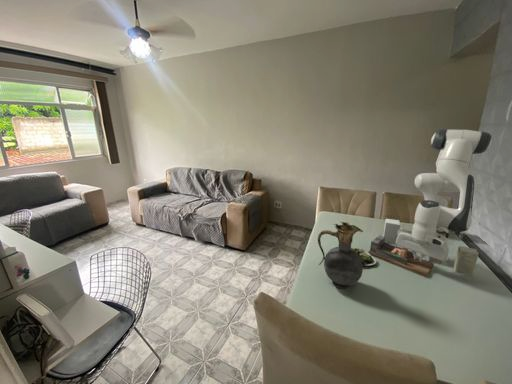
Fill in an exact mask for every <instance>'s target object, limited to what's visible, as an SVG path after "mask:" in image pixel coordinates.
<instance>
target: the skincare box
mask: <svg viewBox="0 0 512 384" xmlns="http://www.w3.org/2000/svg"><path fill="white" fill-rule="evenodd" d="M478 258H479V252H478V250H477V248H471V247H466V246H461V245H458V249H457V252H456V256H455V260H454V264H453V271H454V273H456V274H460V275H464V276H468V277H473V276H474V272H475V269H476V265H477V262H478Z"/></svg>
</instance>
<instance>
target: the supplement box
mask: <svg viewBox="0 0 512 384" xmlns="http://www.w3.org/2000/svg"><path fill="white" fill-rule="evenodd" d="M384 221H385V222H384V227H383V232H382V233H383V234H382V236H384V237H385V242H386V243H389V244H392V245H396V239H397V237H398V235H397V232H398V230H399V229H401V228H400V227H401V222H400V220H399V219H393V218H392V219H391V218H385V220H384Z"/></svg>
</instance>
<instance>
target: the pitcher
mask: <svg viewBox="0 0 512 384" xmlns="http://www.w3.org/2000/svg"><path fill="white" fill-rule="evenodd" d="M340 223H341V224H338V223H335V224H333V225H334V227H335V229H336V230H337V231H335V232H334V231H331V230H329V229H328V230H327V229H326V230H325V229H324V230H321V231H320V232H319V233H318V235H317V244H318V246H319V249H320V251H321V253H322V259H321V261H320V262H319V264H318V266H320V265H321V264H322V263H323V267H324V272H325V273H326V276H327V277H328V279H330V280H331V283H332V285H334V286H335V287H336V288H339V289H349V288H350V287H351V286H352V285H354V284H355V283H357V282H358V281H359V280H360V279H361V277H362V275H363V271H364V270H363V265H362V260H361V258H360V256H359V255H358V254H357V253H356V252H355V251H353V250H352V249H351V248H352V243H353V237H354V235H355V234H356V233H358V232H359V233H363V232H364V230H363V229H361V228H359V226H357V225H354V224H350V222H347V221H346V222H345V221H340ZM324 235H330V236H332V237H335V238H337V241H338V245H337V246H336V247H333V248H331V249H329V250H328V251H327V253H326V254H325V252H324V249H323V247H322V245H321V244H322V242H321V237H322V236H324Z"/></svg>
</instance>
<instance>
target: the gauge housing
mask: <svg viewBox="0 0 512 384" xmlns="http://www.w3.org/2000/svg"><path fill="white" fill-rule="evenodd" d="M369 248H370V249H369V250H368V251H367V252H368V253H369V254H370V255H371V256H372V257H373V258H375V259H376V258H377V259H378V260H381V261H384V262H386V263H389V264H392V265H394V266H397V267H399V268H401V269H404V270H406V271H408V272H411V273H413V274H416V275H419V276H421V277H424V278H427V277H428V276H429V274H430V272H431V271H432V269H433V268H434V265H435V262H429V261H428V260H427V259H424V258H422V261H421V262H420V261H417V260H415V259H414V255H413V253H412V250H409V249H408V252H407V257H406V258H403V257H401V256H399V255H396V254H392V253H391V251H393V250H394V249H395V248H398V249H401V250H402V249H403V247H400V246H397V245H396V244H393V243H388V242H385V237H384V236H383V235H381V234H380V235H378V236H377V237H375V238H374V239H373V240H371V243H370V247H369Z"/></svg>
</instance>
